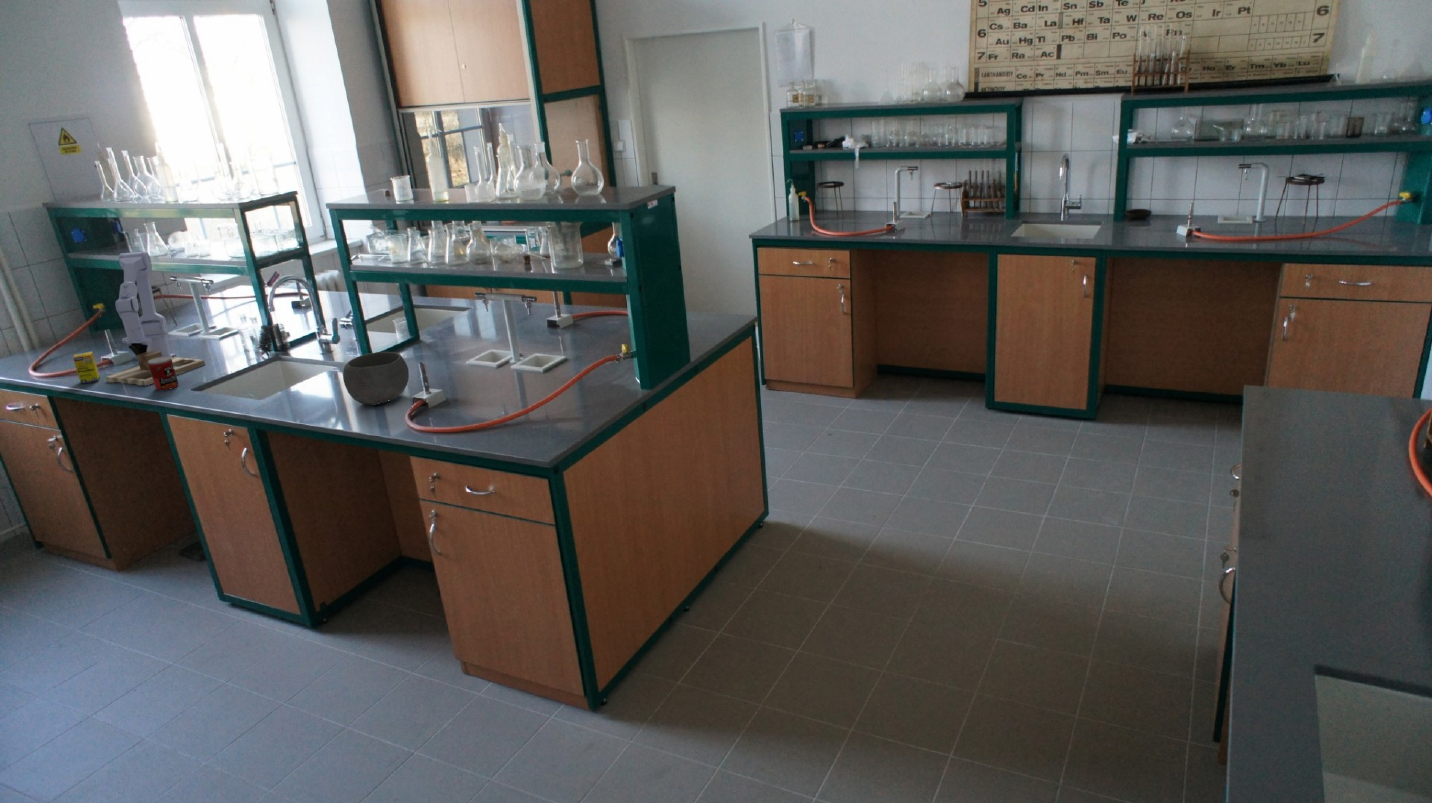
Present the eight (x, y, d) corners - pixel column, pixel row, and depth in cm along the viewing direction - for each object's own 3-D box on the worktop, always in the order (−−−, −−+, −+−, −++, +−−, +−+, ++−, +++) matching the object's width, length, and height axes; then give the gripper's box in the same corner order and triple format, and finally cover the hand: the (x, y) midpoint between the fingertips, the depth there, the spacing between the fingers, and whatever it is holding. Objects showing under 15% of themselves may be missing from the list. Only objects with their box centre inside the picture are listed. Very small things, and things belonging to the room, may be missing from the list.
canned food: (163, 392, 343) (154, 363, 339) (151, 389, 347) (143, 361, 343) (183, 385, 349) (175, 357, 345) (171, 382, 353) (163, 355, 349)
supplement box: (81, 384, 357) (72, 357, 353) (82, 380, 362) (74, 354, 358) (99, 381, 360) (90, 354, 356) (100, 377, 365) (92, 351, 361)
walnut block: (140, 369, 364) (136, 355, 362) (154, 364, 369) (150, 350, 367) (151, 370, 362) (147, 356, 360) (164, 366, 367) (160, 351, 365)
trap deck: (107, 381, 359) (105, 376, 358) (166, 360, 381) (165, 356, 380) (146, 386, 350) (145, 381, 350) (205, 364, 373) (203, 359, 372)
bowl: (378, 388, 332) (370, 348, 327) (425, 392, 324) (418, 351, 319) (335, 408, 314) (326, 367, 308) (384, 414, 306) (375, 371, 301)
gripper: (111, 330, 361) (121, 363, 366) (136, 332, 356) (146, 365, 360) (128, 325, 367) (137, 357, 372) (153, 327, 362) (162, 360, 366)
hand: (143, 361), depth 366 cm, fingers closed
